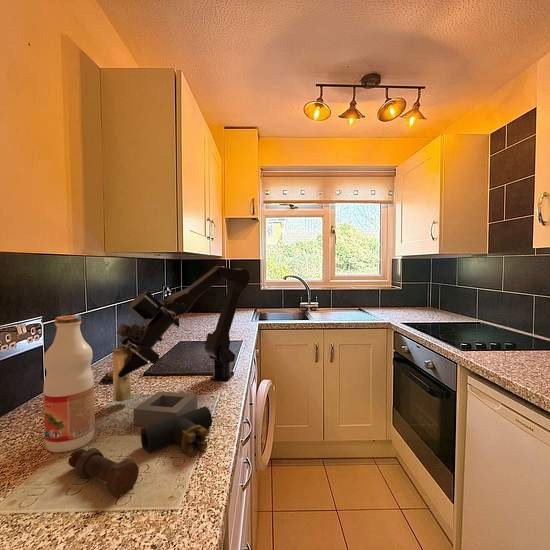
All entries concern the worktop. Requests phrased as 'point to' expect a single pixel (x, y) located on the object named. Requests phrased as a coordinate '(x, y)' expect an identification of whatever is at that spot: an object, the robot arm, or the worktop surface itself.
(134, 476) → the bolt
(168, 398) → the docking block
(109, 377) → the bread roll
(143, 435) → the pipe connector
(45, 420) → the fruit juice
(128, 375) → the brown round cylinder
